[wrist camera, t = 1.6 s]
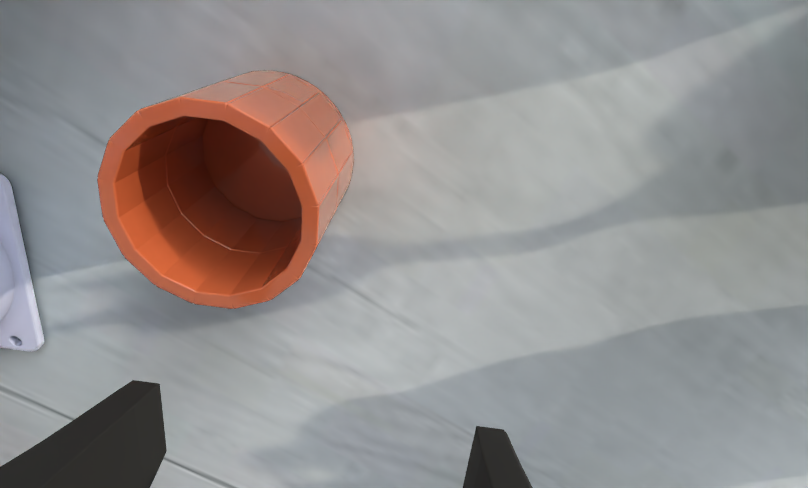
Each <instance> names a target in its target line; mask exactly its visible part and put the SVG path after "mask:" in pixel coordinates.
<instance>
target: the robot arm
mask: <svg viewBox="0 0 808 488" xmlns="http://www.w3.org/2000/svg"><path fill="white" fill-rule="evenodd" d="M19 338H20V339H21V340H20V339H19ZM43 344H44V336H43V331H42V327H41V322H40V317H39V313H38V308H37V303H36V298H35V294H34V289H33V284H32V280H31V275H30V270H29V266H28V261H27V256H26V251H25V247H24V242H23V237H22V233H21V228H20V223H19V219H18V214H17V209H16V204H15V200H14V195H13V190H12V186H11V184H10V181H9V180H8V179H7V178H6V177H5V176H4V175H2V174H0V348H7V349H15V350H23V351H36V350H38V349H39V348H40V347H41V346H42V345H43ZM165 453H166V441H165V432H164V422H163V412H162V403H161V393H160V384H157V383H149V382H142V381H134V380H133V381H131V382H130V383H128V384H127V385H125V386H124V387H122V388H121V389H119V390H118V391H116V392H115V393H113V394H112V395H110V396H109V397H107V398H106V399H104V400H103V401H101V402H100V403H98V404H97V405H96V406H94V407H93V408H91V409H90V410H88V411H87V412H85V413H84V414H82V415H81V416H79V417H78V418H76V419H75V420H73V421H72V422H70V423H69V424H67V425H66V426H64V427H63V428H61V429H60V430H58V431H57V432H55V433H54V434H52V435H51V436H49V437H48V438H46V439H45V440H43V441H42V442H40V443H39V444H37V445H35V446H34V447H32V448H31V449H29V450H27V451H26V452H24V453H22V454H21V455H19V456H17V457H16V458H14V459H13V460H11V461H9V462H8V463H6V464H4V465H3V466H1V467H0V488H150V486H151V484H152V482H153V480H154V478H155V475H156V473H157V471H158V469H159V467H160V464H161V462H162V460H163V458H164V456H165ZM463 488H532V486H531V484H530V482H529V480H528V478H527V476H526V474H525V472H524V470H523V468H522V466H521V464H520V461H519V459H518V457H517V455H516V453H515V451H514V448H513V446H512V444H511V442H510V439H509V437H508V435H507V433H506V432H505V431H504V430H502V429H495V428H487V427H480V426H476V431H475V435H474V440H473V444H472V449H471V453H470V458H469V462H468V467H467V471H466V476H465V480H464V485H463Z"/></svg>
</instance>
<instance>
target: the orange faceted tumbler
mask: <svg viewBox="0 0 808 488" xmlns="http://www.w3.org/2000/svg"><path fill="white" fill-rule="evenodd" d="M353 163H354V153H353V145H352V140H351V136H350V132H349V130H348V127H347V125H346V122H345V121H344V119H343V117H342V115H341V113H340V112H339V110H338V109H337V108H336V106H335V105H334V103H333V102H332V101H331V100H330V99H329V98H328V97H327V96H326V95H325V94H324V93H323V92H321V91H320V90H319V89H318V88H317V87H315V86H313V85H312V84H310V83H309V82H307V81H305V80H303V79H301V78H299V77H297V76H294V75H291V74H288V73H284V72H278V71H267V70H263V71H251V72H248V73H244V74H241V75H238V76H235V77H232V78H229V79H226V80H223V81H220V82H217V83H214V84H211V85H208V86H205V87H202V88H200V89H197V90H194V91H191V92H188V93H185V94H182V95H179V96H176V97H173V98H171V99H168V100H165V101H162V102H159V103H156V104H153V105H150V106H147V107H144V108H142V109H139V110H138V111H136V112H135V113H134V114H133V115H132V116H131V117H130V118H129V119H128V120H127V121H126V122H125V123H124V124H123V125H122V126H121V127H120V128H119V129H118V130H117V131H116V132H115V133H114V134H113V135H112V136H111V137H110V140H109V141H108V143H107V147H106V150H105V153H104V157H103V160H102V163H101V167H100V170H99V173H98V179H97V181H98V188H99V195H100V202H101V209H102V216H103V218H104V222H105V224H106V226H107V227H108V229H109V231H110V233H111V235H112V236H113V238H114V240H115V242H116V244H117V245H118V247H119V249H120V251H121V253H122V255H123V256H125V258H126V259H127V260H128V261H129V262H130V263H131V264H132V265H133V266H134V267H135V268H137V269H138V270H139V271H140V272H141V273H142V274H143V275H144V276H145V277H146V278H147V279H148V280H149V281H151V282H152V283H153V284H154V285H156V286H157V287H159V288H161V289H163V290H165V291H167V292H169V293H171V294H173V295H175V296H178V297H180V298H182V299H184V300H186V301H188V302H190V303H194V304H197V305H205V306H213V307H221V308H228V309H233V308H234V309H236V308H240V307H244V306H249V305H253V304H258V303H262V302H266V301H269V300H272V299H273V298H275V297H276V296H277V295H279V294H280V293H281V292H283V291H284V290H285V289H287V288H288V287H290V286H291V285H292V284H294V283H295V282H296V281H298V280H299V278H301V276H302V274H303V272H304V271H305V269H306V267H307V265H308V263H309V261H310V259H311V257H312V256H313V254H314V252H315V250H316V248H317V246H318V244H319V242H320V240H321V238H322V236H323V234H324V232H325V231H326V229H327V227H328V225H329V223H330V221H331V219H332V217H333V215H334V213H335V211H336V209H337V207H338V205H339V203H340V201H341V200H342V198H343V196H344V194H345V192H346V190H347V188H348V186H349V184H350V179H351V175H352V171H353Z"/></svg>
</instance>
